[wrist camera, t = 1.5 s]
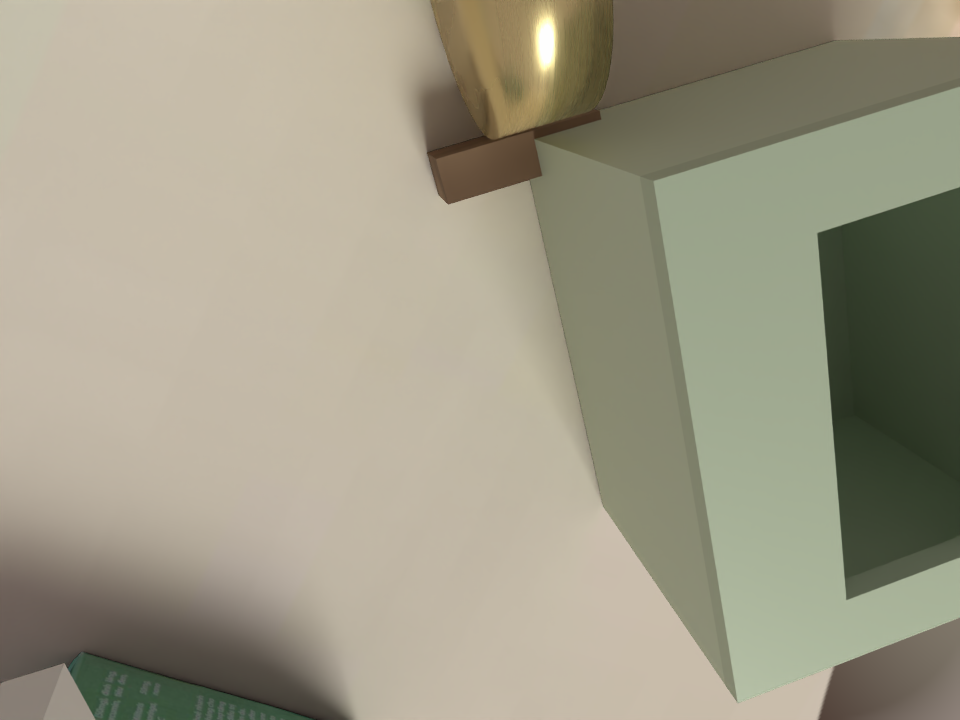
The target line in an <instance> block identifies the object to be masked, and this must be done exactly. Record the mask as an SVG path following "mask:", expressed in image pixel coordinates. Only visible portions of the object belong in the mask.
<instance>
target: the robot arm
mask: <svg viewBox="0 0 960 720" xmlns="http://www.w3.org/2000/svg"><path fill="white" fill-rule="evenodd" d="M0 720H95V718H94V716H93V714H92V712H91V711H90V709H89V707H88V705H87V703H86V702H85V700H84V698H83V696H82V694H81V692H80V691H79V689H78V687H77V685H76V683H75V682H74V680H73V678H72V676H71V674H70V672H69V671H68V669H67V667H66V665H65V663H63V664H60V665H57V666H53V667H50V668H47V669H44V670H40V671H37V672H34V673H31V674H27V675H24V676H21V677H18V678H15V679H11V680H8V681H5V682H2V683H1V685H0Z"/></svg>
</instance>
